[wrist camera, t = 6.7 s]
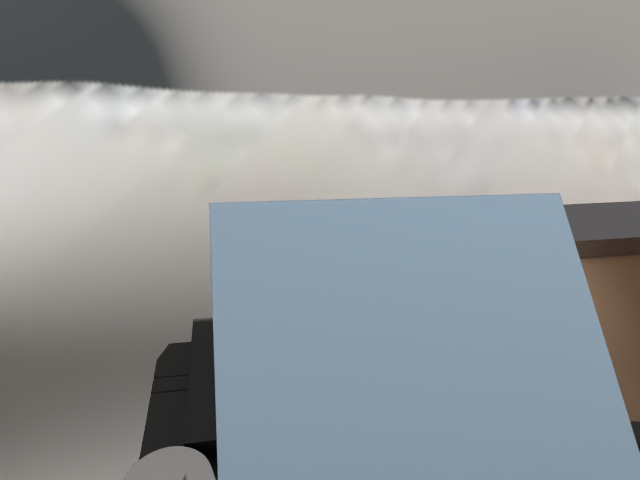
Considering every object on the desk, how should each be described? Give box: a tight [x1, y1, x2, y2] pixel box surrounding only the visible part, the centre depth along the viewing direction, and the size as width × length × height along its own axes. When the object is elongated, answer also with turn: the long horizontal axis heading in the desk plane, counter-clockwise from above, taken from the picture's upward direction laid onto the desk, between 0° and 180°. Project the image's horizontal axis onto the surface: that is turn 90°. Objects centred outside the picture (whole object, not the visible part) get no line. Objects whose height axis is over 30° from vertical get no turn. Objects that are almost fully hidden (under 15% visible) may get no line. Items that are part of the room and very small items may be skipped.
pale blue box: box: [209, 193, 640, 480], centre depth 10 cm, size 4×5×12 cm
